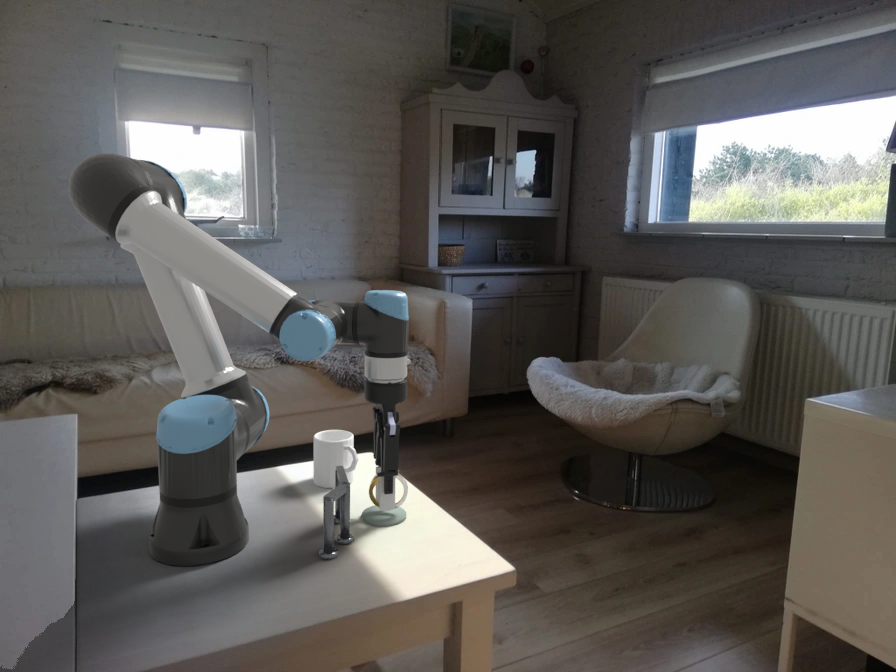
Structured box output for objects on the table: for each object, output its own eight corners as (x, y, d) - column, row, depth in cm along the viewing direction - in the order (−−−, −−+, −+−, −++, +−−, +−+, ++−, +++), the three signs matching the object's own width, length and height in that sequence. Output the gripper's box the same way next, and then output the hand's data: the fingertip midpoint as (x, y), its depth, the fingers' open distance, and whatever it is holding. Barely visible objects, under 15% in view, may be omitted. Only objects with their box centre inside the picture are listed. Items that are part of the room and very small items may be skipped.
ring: (407, 506, 120) (408, 465, 119) (406, 514, 117) (407, 472, 116) (370, 505, 120) (370, 464, 119) (367, 513, 117) (368, 471, 116)
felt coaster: (354, 521, 116) (354, 518, 116) (373, 504, 123) (373, 501, 123) (395, 529, 113) (395, 526, 113) (412, 511, 121) (412, 508, 121)
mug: (340, 497, 126) (340, 448, 125) (306, 480, 135) (305, 434, 133) (372, 487, 132) (373, 440, 131) (338, 471, 140) (338, 427, 139)
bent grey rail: (290, 552, 104) (290, 492, 103) (336, 515, 118) (336, 463, 117) (332, 561, 102) (332, 500, 100) (373, 522, 116) (374, 469, 114)
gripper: (417, 387, 108) (415, 521, 111) (397, 368, 123) (396, 486, 127) (372, 389, 106) (371, 526, 109) (358, 370, 121) (358, 490, 125)
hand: (385, 504), depth 118 cm, fingers closed on ring, 3 cm apart
